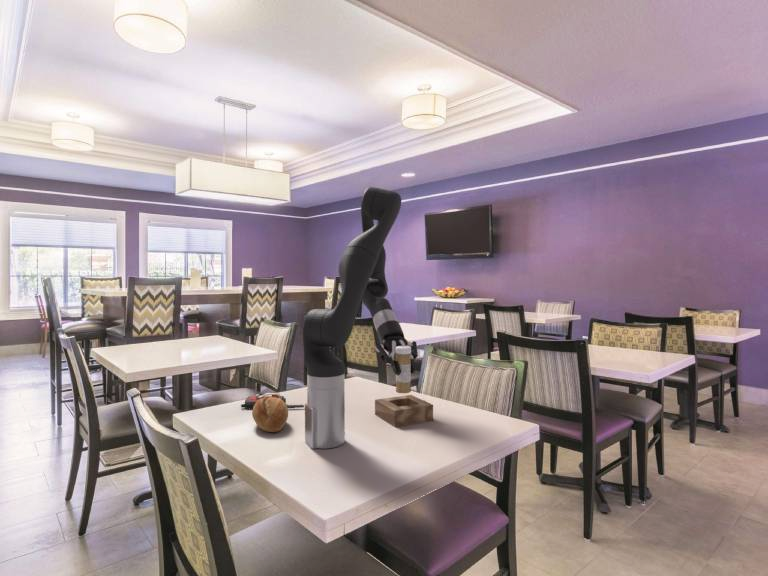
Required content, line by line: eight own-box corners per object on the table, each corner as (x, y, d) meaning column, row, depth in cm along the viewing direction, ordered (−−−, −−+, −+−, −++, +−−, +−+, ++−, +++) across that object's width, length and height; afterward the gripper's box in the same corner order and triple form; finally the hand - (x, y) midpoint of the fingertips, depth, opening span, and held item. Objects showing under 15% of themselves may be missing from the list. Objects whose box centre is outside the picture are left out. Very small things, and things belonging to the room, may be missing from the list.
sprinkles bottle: (394, 390, 133) (394, 345, 133) (409, 389, 134) (409, 345, 133) (396, 394, 129) (396, 348, 128) (412, 393, 129) (412, 347, 129)
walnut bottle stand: (394, 426, 123) (394, 410, 123) (375, 414, 134) (374, 399, 134) (433, 420, 128) (433, 404, 128) (411, 409, 140) (411, 394, 139)
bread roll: (254, 438, 114) (254, 407, 114) (250, 420, 128) (250, 393, 128) (292, 433, 118) (292, 403, 118) (284, 417, 132) (284, 390, 132)
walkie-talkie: (238, 412, 138) (303, 411, 139) (238, 398, 138) (303, 397, 139) (246, 404, 147) (307, 403, 148) (246, 391, 147) (307, 390, 148)
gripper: (370, 320, 134) (389, 367, 124) (411, 318, 140) (432, 363, 130) (363, 336, 139) (380, 382, 128) (403, 333, 145) (423, 377, 135)
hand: (406, 372), depth 129 cm, fingers closed on sprinkles bottle, 4 cm apart
